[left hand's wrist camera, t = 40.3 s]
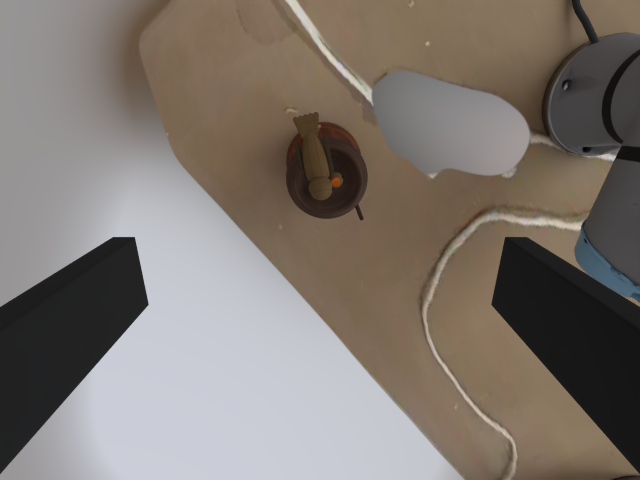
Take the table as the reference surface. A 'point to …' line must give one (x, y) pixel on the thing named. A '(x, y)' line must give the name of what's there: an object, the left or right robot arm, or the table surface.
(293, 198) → the music box
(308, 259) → the table surface
